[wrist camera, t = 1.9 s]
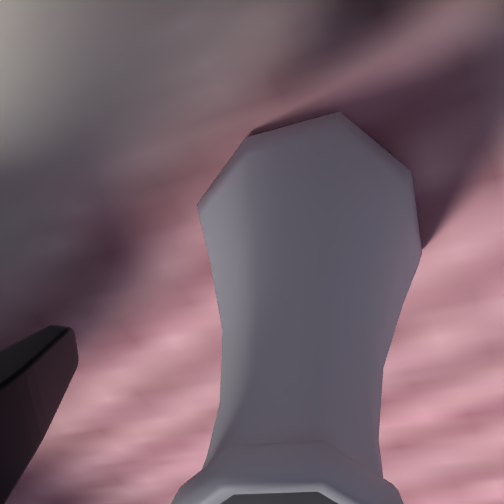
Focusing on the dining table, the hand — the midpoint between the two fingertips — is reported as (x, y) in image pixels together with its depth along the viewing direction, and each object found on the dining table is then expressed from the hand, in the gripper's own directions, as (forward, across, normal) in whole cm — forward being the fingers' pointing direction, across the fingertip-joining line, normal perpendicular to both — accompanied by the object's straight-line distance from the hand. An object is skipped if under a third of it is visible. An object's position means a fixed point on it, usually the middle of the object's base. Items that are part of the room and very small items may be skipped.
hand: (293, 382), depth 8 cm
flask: (+7, 0, 0) cm, 7 cm away
